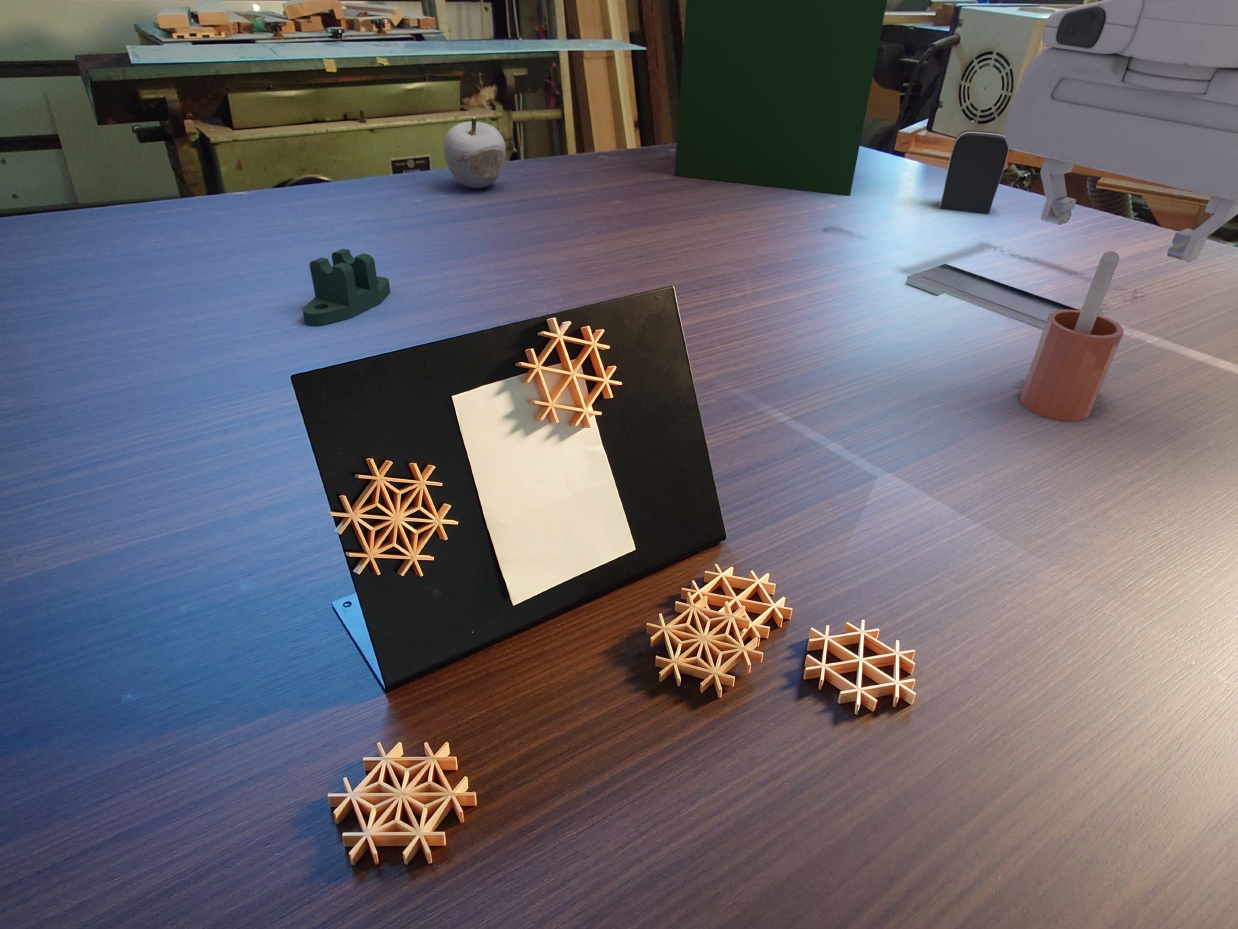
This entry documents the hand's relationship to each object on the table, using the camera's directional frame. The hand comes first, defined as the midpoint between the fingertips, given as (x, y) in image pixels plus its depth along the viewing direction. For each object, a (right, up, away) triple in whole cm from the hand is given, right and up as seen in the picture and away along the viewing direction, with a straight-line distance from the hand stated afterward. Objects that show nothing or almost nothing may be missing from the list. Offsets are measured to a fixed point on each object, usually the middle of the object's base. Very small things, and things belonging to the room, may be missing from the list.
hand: (1114, 239), depth 60 cm
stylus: (0, -12, +8) cm, 14 cm away
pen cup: (0, -12, +8) cm, 15 cm away
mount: (-64, -1, +22) cm, 68 cm away
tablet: (+7, +2, +30) cm, 31 cm away
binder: (-13, +30, +70) cm, 77 cm away
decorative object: (-58, +24, +58) cm, 85 cm away
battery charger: (+11, +18, +53) cm, 57 cm away
